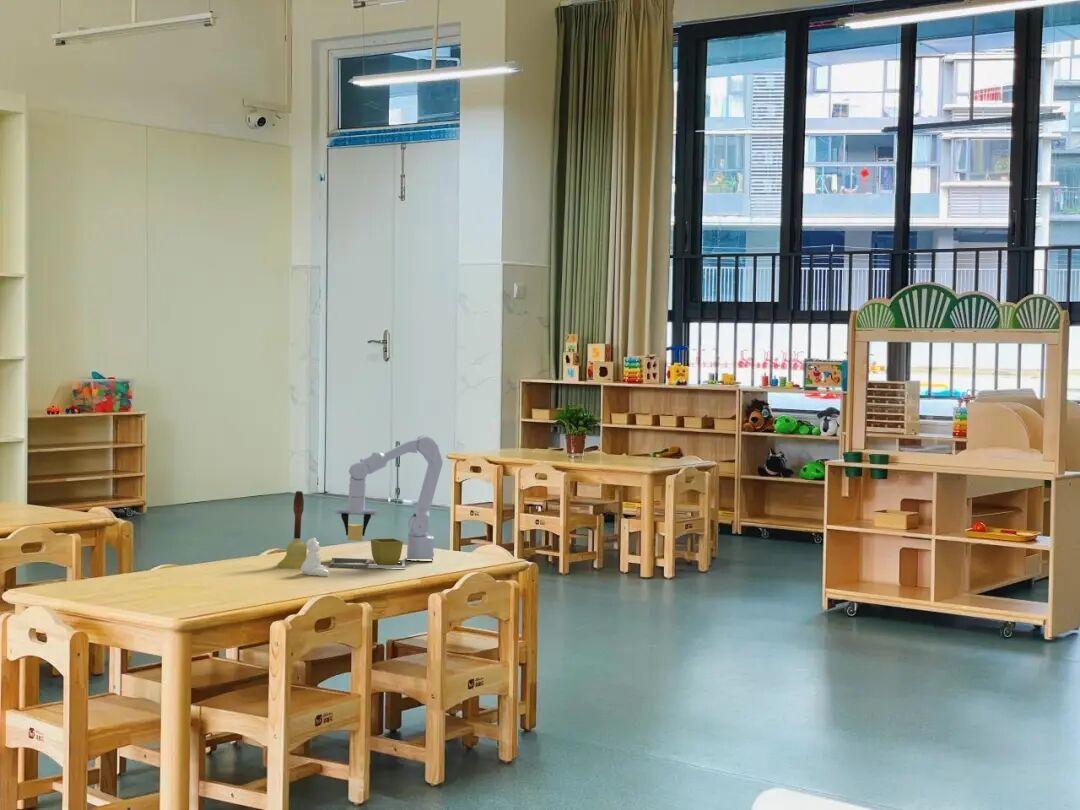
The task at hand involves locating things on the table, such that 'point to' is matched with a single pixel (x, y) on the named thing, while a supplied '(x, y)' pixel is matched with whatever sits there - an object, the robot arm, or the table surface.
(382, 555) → the flower pot
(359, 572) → the table surface
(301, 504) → the handbell
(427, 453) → the robot arm
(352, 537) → the ochre block
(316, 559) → the white creature statuette
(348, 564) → the sorting board
